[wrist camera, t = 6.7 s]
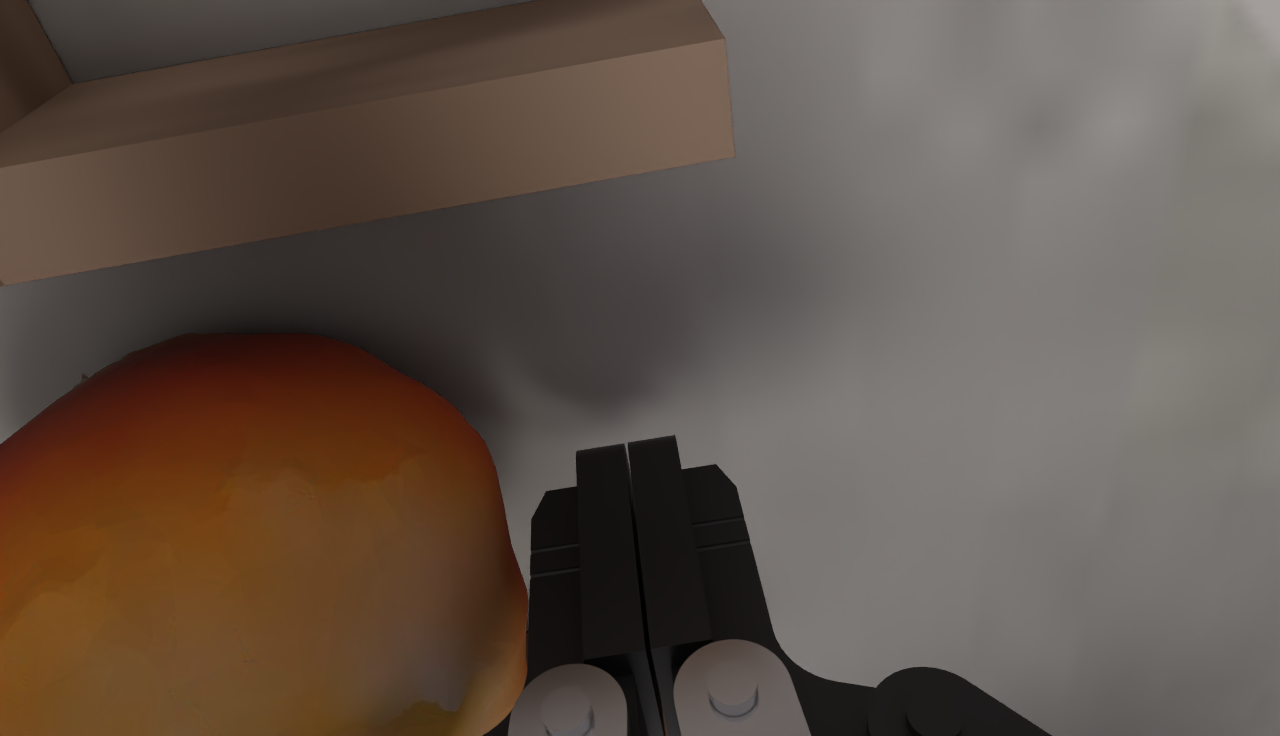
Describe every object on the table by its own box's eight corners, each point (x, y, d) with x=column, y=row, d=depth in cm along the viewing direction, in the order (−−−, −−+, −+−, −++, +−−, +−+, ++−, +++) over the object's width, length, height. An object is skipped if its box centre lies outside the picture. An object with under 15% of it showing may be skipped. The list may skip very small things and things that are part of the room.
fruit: (-278, 298, 10) (-404, 887, 5) (356, 187, 14) (624, 459, 9) (-33, 687, 15) (24, 1196, 10) (393, 519, 19) (585, 819, 14)
